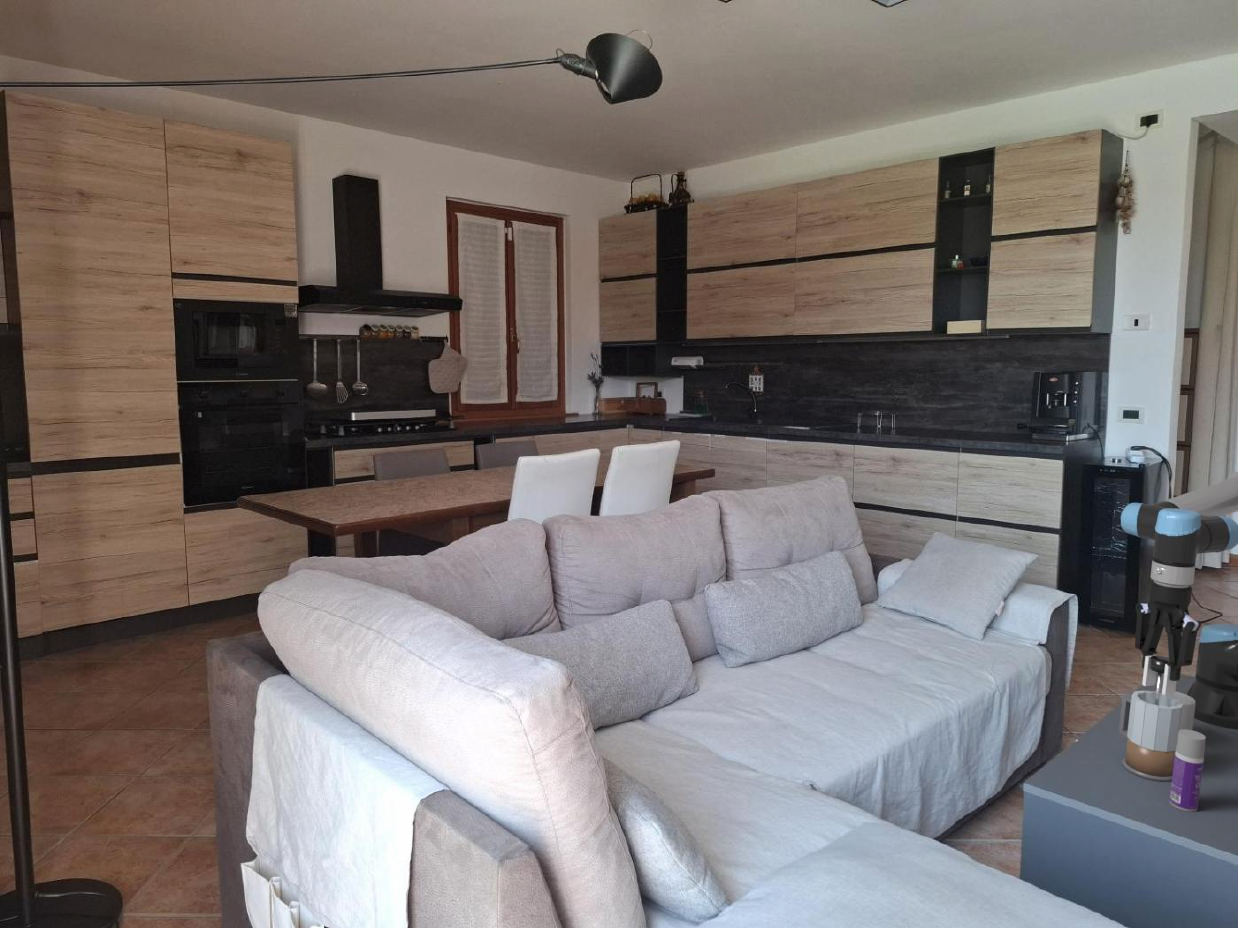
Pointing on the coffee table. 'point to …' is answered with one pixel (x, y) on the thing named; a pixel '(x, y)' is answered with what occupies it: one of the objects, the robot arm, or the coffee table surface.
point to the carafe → (1150, 734)
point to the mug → (1185, 709)
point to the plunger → (1158, 666)
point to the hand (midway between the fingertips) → (1158, 688)
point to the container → (1187, 770)
